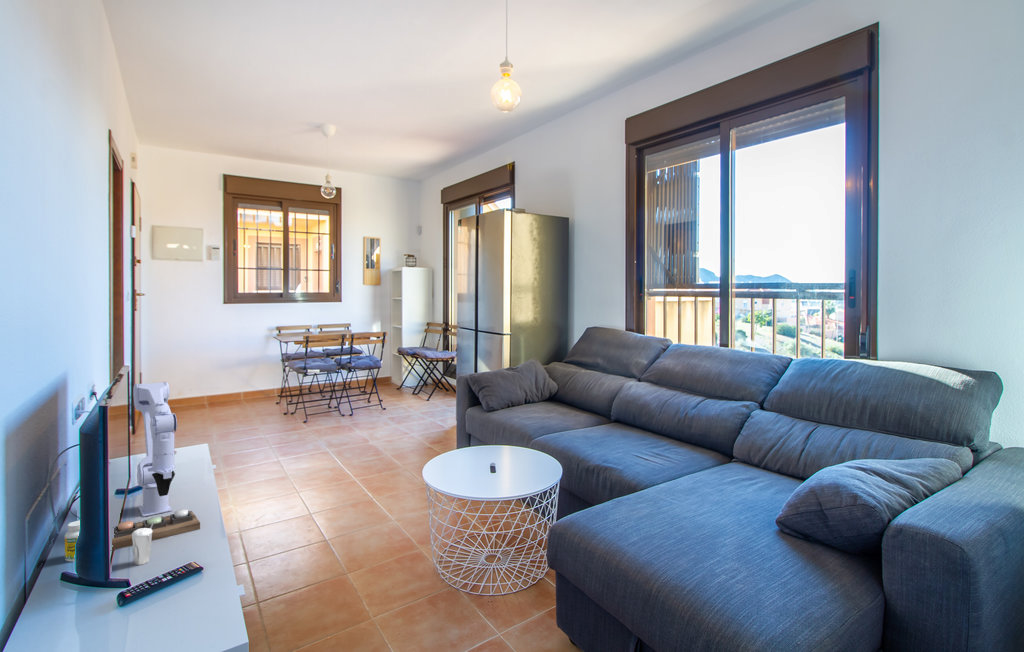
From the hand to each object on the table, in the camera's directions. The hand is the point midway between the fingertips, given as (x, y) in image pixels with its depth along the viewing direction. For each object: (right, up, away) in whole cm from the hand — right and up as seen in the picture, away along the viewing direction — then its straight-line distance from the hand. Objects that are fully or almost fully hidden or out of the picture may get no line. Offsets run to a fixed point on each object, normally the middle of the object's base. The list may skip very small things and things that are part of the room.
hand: (163, 495), depth 159 cm
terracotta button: (-4, -7, -10) cm, 13 cm away
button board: (+1, -10, -5) cm, 11 cm away
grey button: (+6, -7, -1) cm, 9 cm away
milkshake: (+10, -11, -23) cm, 27 cm away
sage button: (+1, -7, -5) cm, 9 cm away
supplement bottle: (-9, -10, -21) cm, 25 cm away
